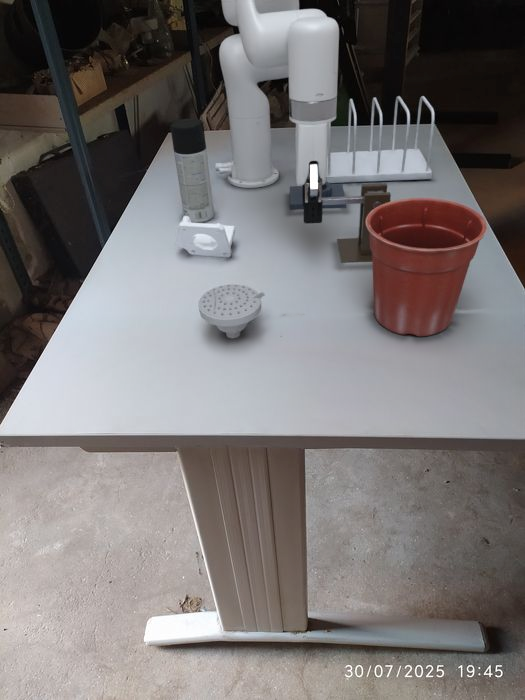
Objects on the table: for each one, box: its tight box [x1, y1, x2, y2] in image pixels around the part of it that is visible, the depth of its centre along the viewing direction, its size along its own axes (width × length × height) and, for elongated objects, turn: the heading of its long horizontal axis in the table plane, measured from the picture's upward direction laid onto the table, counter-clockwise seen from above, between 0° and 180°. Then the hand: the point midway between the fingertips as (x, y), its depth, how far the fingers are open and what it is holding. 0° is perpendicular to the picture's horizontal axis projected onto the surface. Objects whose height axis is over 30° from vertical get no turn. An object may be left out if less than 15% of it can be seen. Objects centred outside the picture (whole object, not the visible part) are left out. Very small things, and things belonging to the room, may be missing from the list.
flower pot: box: [366, 197, 488, 337], centre depth 81 cm, size 16×16×16 cm
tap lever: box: [321, 190, 383, 205], centre depth 95 cm, size 13×6×2 cm, turn 88°
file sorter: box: [326, 95, 435, 184], centre depth 130 cm, size 25×17×16 cm
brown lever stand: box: [336, 182, 392, 264], centre depth 98 cm, size 12×9×13 cm
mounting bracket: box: [174, 215, 237, 259], centre depth 103 cm, size 12×6×11 cm, turn 76°
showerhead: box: [197, 284, 266, 339], centre depth 82 cm, size 9×7×10 cm
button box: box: [289, 182, 347, 211], centre depth 120 cm, size 12×10×4 cm
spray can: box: [169, 118, 215, 223], centre depth 112 cm, size 7×7×20 cm
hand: (312, 213), depth 97 cm, fingers closed on tap lever, 6 cm apart
